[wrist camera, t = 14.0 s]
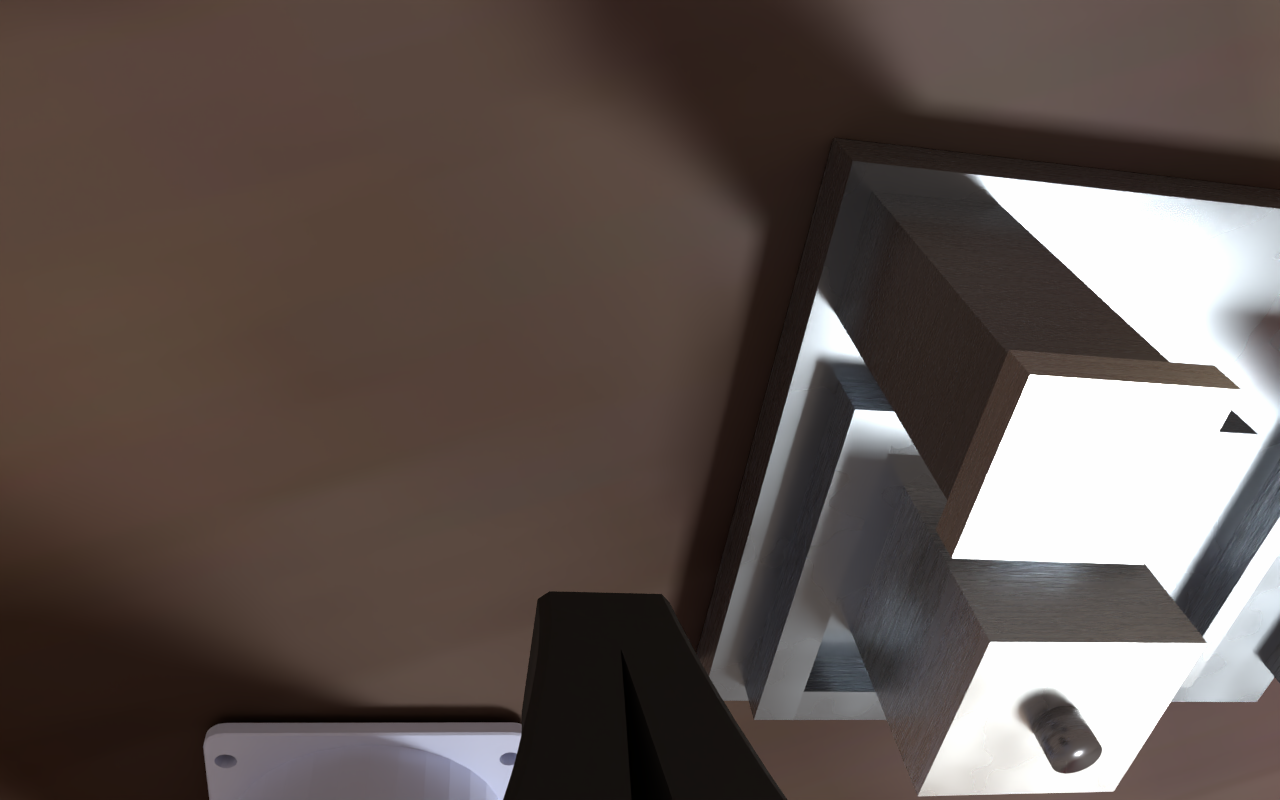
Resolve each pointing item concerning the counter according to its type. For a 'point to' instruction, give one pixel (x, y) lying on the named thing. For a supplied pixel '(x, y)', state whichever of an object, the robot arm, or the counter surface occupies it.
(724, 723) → the robot arm
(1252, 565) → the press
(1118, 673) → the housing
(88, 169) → the counter surface
